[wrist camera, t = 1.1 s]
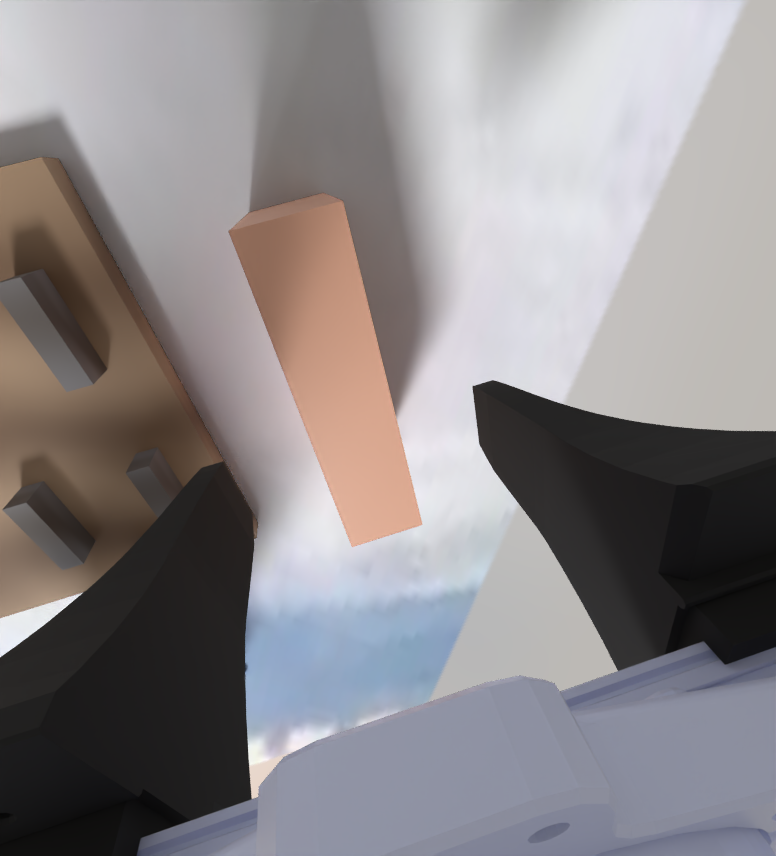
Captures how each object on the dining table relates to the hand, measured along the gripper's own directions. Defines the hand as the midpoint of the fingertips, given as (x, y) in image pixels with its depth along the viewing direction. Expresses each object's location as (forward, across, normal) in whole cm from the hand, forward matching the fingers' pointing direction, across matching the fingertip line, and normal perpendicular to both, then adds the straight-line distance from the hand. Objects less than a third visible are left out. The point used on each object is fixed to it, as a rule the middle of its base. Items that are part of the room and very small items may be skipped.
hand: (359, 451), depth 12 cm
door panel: (+9, 0, 0) cm, 9 cm away
